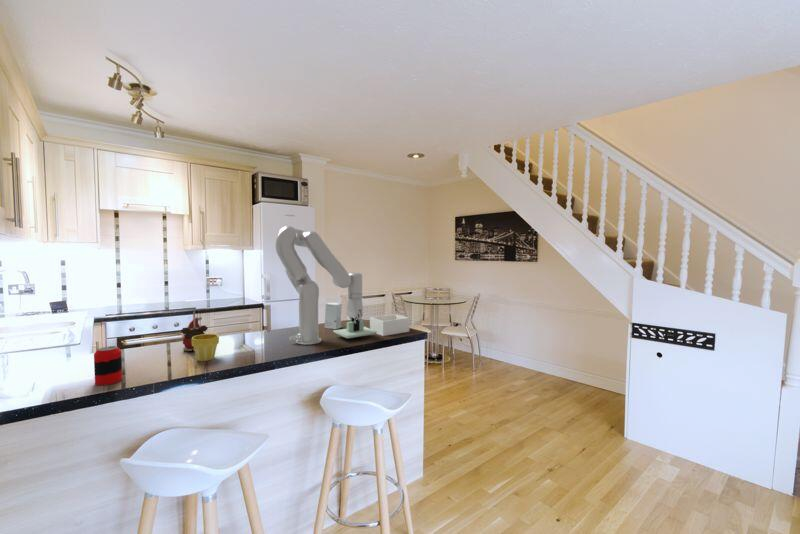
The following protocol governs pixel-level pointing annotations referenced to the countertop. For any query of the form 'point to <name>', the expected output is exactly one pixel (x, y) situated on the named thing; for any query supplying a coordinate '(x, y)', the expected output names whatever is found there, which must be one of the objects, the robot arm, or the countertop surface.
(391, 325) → the tub
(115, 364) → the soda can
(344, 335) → the lid
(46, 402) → the countertop surface
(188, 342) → the dark red figurine
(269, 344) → the countertop surface
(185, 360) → the countertop surface
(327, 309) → the skincare box
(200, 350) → the plant pot
